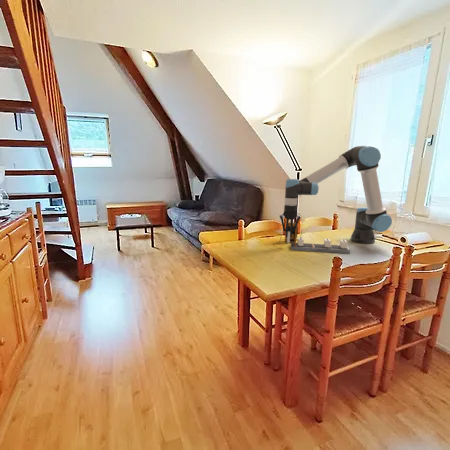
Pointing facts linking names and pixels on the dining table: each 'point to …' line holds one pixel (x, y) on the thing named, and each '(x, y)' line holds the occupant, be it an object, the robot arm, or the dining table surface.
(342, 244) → the breaker
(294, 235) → the multimeter
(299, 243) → the breaker
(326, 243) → the block
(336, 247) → the panel
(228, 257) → the dining table surface
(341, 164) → the robot arm
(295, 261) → the dining table surface
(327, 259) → the dining table surface
